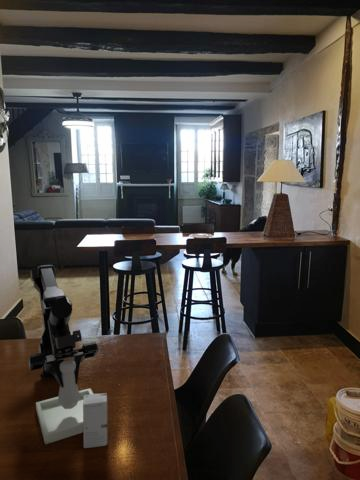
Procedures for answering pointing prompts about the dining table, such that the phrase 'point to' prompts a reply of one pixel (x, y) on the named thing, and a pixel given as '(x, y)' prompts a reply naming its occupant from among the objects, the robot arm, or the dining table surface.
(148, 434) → the dining table surface
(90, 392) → the tray
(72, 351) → the robot arm
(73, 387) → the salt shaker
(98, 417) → the skincare box
